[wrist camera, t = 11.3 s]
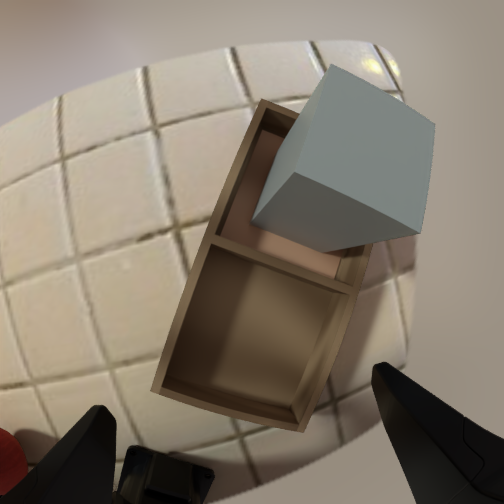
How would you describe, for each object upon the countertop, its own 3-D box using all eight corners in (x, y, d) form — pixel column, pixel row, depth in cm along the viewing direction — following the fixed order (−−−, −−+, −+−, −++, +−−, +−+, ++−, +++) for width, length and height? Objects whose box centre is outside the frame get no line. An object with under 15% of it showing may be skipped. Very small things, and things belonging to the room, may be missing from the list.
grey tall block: (321, 252, 19) (420, 233, 10) (249, 224, 19) (294, 171, 9) (342, 184, 20) (435, 124, 10) (275, 155, 19) (330, 63, 10)
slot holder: (290, 413, 19) (303, 432, 16) (157, 374, 18) (150, 390, 15) (371, 172, 21) (392, 159, 18) (254, 120, 20) (261, 98, 17)
